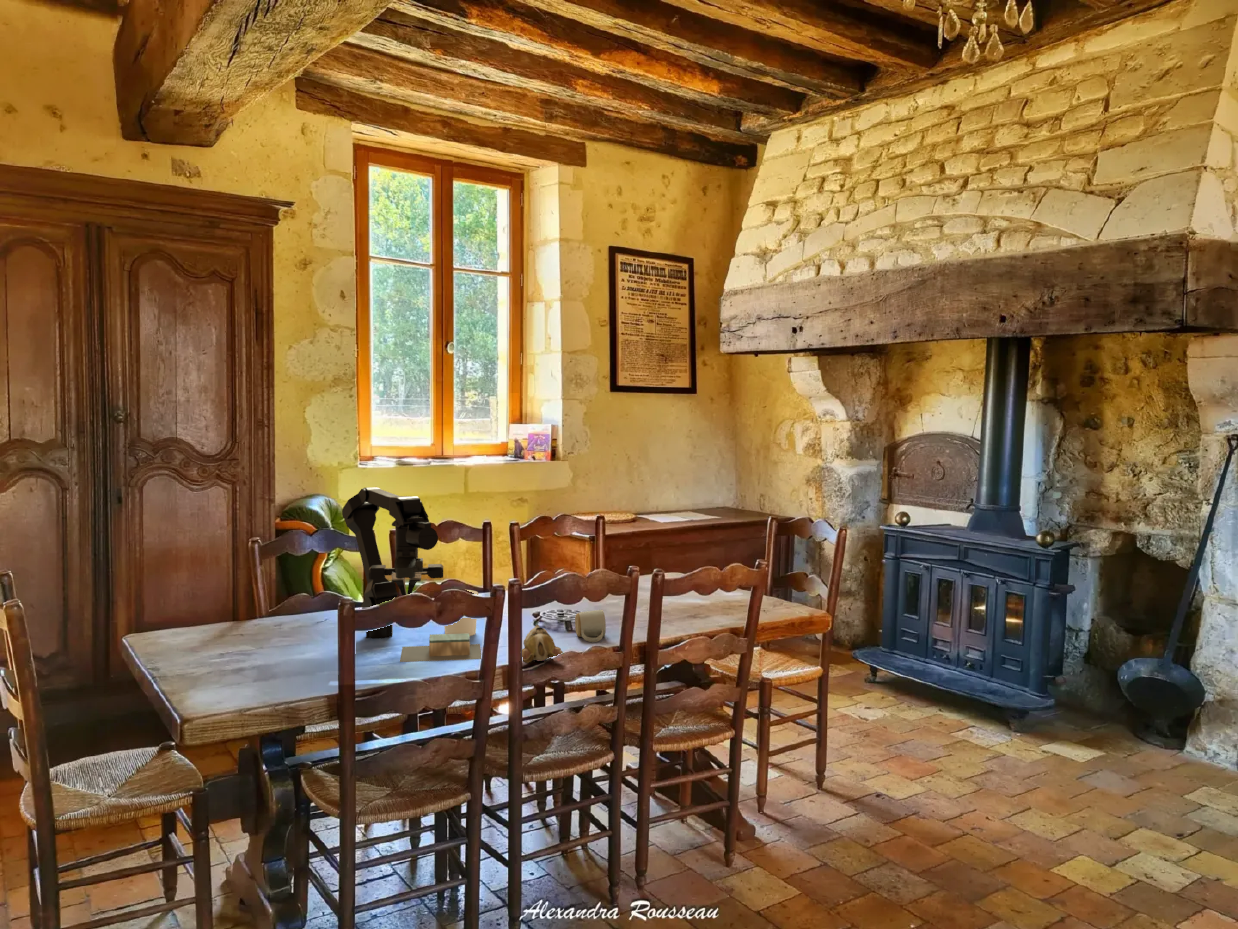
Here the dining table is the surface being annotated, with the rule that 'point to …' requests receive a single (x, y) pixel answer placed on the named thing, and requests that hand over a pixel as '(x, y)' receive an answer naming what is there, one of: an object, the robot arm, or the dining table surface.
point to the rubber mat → (423, 655)
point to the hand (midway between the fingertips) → (406, 604)
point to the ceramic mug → (590, 625)
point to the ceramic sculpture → (539, 646)
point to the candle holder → (463, 625)
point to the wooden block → (449, 644)
